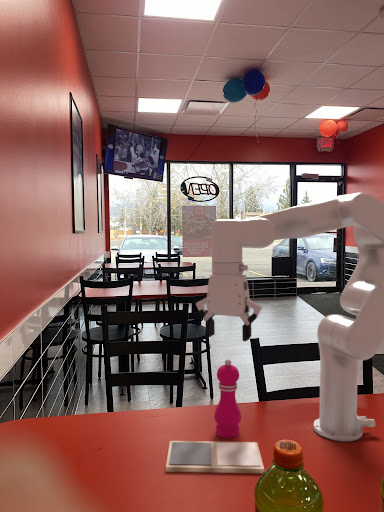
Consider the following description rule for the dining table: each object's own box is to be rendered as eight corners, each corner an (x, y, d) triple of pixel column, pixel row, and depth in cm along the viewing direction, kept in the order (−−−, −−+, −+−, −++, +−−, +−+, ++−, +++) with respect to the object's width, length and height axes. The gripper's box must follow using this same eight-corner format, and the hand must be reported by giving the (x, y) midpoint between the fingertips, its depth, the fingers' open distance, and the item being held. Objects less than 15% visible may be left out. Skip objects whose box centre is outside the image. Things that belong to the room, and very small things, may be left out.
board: (257, 446, 104) (257, 441, 104) (264, 473, 92) (264, 468, 92) (169, 444, 104) (169, 440, 104) (165, 471, 92) (165, 466, 92)
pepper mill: (240, 427, 114) (241, 355, 113) (241, 439, 107) (242, 363, 106) (214, 425, 115) (215, 355, 114) (213, 438, 108) (213, 362, 107)
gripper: (265, 269, 101) (266, 338, 101) (203, 267, 109) (204, 331, 110) (255, 271, 94) (255, 345, 95) (189, 269, 102) (190, 337, 103)
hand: (228, 337), depth 102 cm, fingers open, 9 cm apart
